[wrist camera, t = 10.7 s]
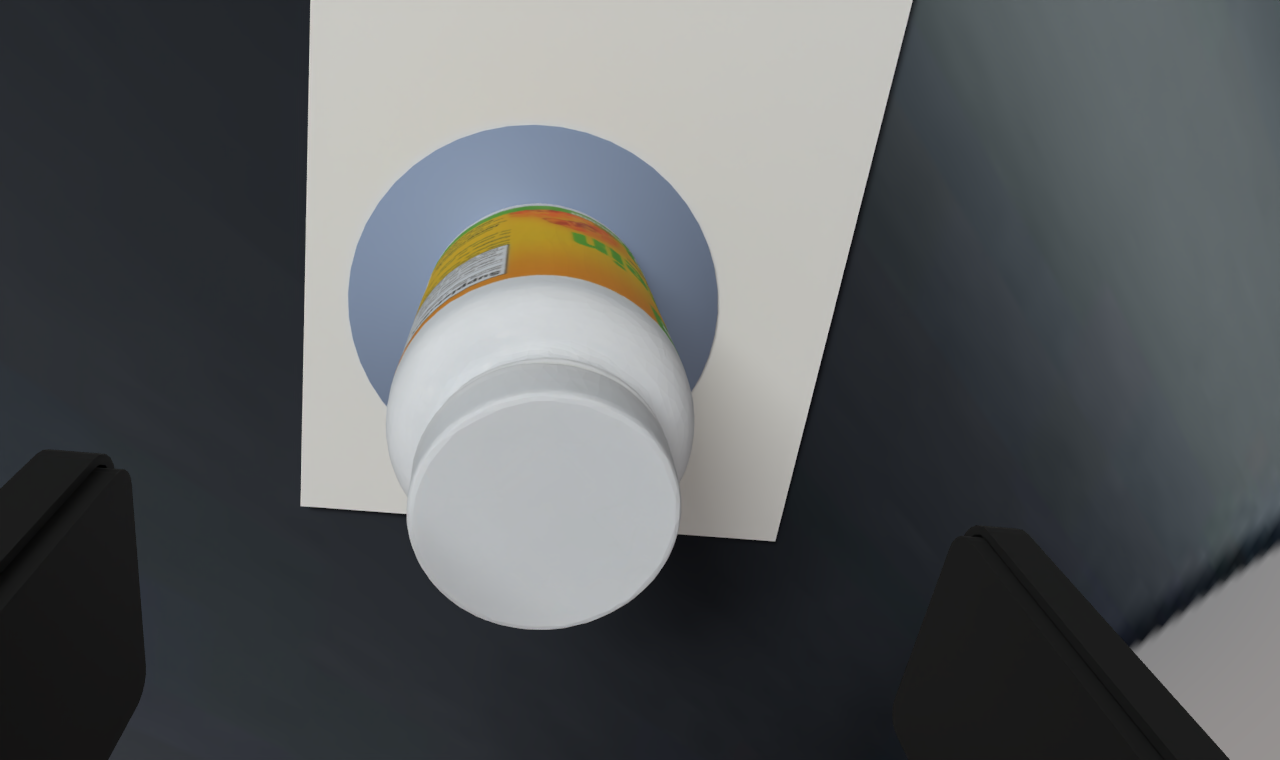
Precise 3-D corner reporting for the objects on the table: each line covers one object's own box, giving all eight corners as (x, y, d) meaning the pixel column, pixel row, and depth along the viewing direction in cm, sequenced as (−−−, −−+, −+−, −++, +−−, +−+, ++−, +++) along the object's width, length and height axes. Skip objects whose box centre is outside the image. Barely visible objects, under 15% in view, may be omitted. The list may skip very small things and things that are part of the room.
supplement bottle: (690, 322, 22) (801, 532, 13) (526, 447, 23) (526, 725, 14) (553, 151, 20) (574, 263, 11) (378, 295, 21) (268, 507, 12)
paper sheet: (320, -325, 17) (315, -333, 16) (952, -180, 19) (961, -184, 18) (303, 500, 23) (299, 507, 23) (772, 535, 25) (776, 543, 25)
